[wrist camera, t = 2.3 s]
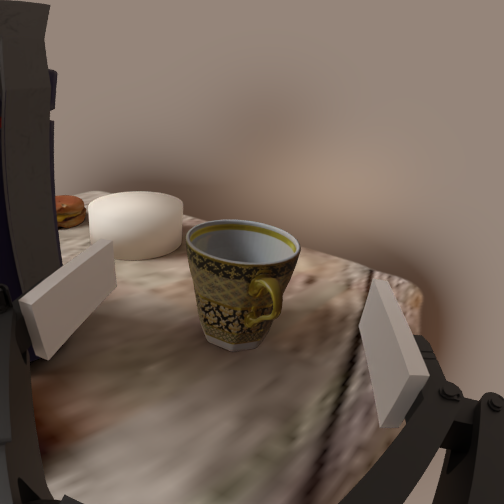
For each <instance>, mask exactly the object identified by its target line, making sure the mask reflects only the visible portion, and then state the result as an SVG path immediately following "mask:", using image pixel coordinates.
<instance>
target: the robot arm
mask: <svg viewBox="0 0 504 504" xmlns="http://www.w3.org/2000/svg"><path fill="white" fill-rule="evenodd" d="M116 287H117V284H116V274H115V263H114V251H113V240H106V239H100V240H98V241H97V242H95V243H94V244H93V245H91V246H90V247H88V248H87V249H85V250H84V251H83V252H81V253H80V254H78V255H77V256H76V257H74V258H73V259H72V260H70V261H69V262H67V263H66V264H65V265H63V266H62V267H61V268H59V269H58V270H57V271H55V272H54V273H53V274H51V275H50V276H48V277H46V278H43V279H41V280H40V281H38V282H37V283H36V284H35V285H34V286H32V287H31V288H29V290H27V291H26V292H24V293H23V294H22V295H20V296H19V297H18V298H17V299H16V300H14V301H13V302H12V300H11V296H10V292H9V289H8V286H7V285H5V284H0V504H83V503H81V502H79V501H77V500H75V499H73V498H70V497H68V496H66V495H64V497H63V498H62V500H61V501H60V500H54V498H53V496H52V495H51V493H50V491H49V489H48V487H47V484H46V480H45V475H44V471H43V466H42V461H41V456H40V451H39V445H38V439H37V433H36V426H35V419H34V410H33V401H32V390H31V376H30V356H29V352H28V350H27V349H28V348H29V347H30V346H31V345H32V346H33V349H34V351H35V354H36V355H37V356H39V357H41V358H44V359H46V360H48V361H49V359H50V358H51V357H52V356H53V355H54V354H55V353H56V351H57V350H58V349H59V348H60V347H61V346H62V345H63V344H64V343H65V341H66V340H67V339H68V338H69V337H70V336H71V335H72V334H73V333H74V332H75V330H76V329H77V328H78V327H79V326H80V325H81V324H82V323H83V322H84V321H85V320H86V319H87V317H88V316H89V315H90V314H91V313H92V312H93V311H94V310H95V309H96V308H97V307H98V306H99V305H100V304H101V303H102V302H103V301H104V300H105V298H106V297H107V296H108V295H109V294H110V293H111V292H112V291H113V290H114V289H115V288H116ZM359 329H360V333H361V337H362V342H363V346H364V350H365V355H366V359H367V364H368V369H369V373H370V378H371V383H372V388H373V393H374V398H375V403H376V409H377V414H378V420H379V425H380V428H399V426H400V425H401V423H402V422H403V420H404V419H405V420H406V425H405V427H404V428H403V429H402V431H401V432H400V433H399V435H398V436H397V437H396V439H395V440H394V441H393V442H392V444H391V445H390V446H389V447H388V449H387V450H386V451H385V452H384V454H383V455H382V456H381V457H380V458H379V460H378V461H377V462H376V463H375V464H374V466H373V467H372V468H371V469H370V470H369V471H368V472H367V474H366V475H365V476H364V477H363V478H362V479H361V480H360V481H359V482H358V484H357V485H356V486H355V487H354V488H353V489H352V490H351V491H350V492H349V493H348V494H347V495H346V496H345V497H344V498H343V499H342V500H341V501H340V502H339V503H338V504H403V503H404V502H405V500H406V498H407V497H408V496H409V494H410V493H411V492H412V490H413V489H414V487H415V486H416V484H417V482H418V481H419V480H420V478H421V477H422V475H423V474H424V472H425V470H426V469H427V467H428V466H429V464H430V462H431V460H432V459H433V457H434V456H435V454H436V452H437V450H438V449H439V448H444V449H446V454H445V458H444V463H443V467H442V471H441V475H440V478H439V482H438V486H437V489H436V493H435V496H434V499H433V503H432V504H504V398H503V397H502V396H500V395H498V394H496V393H492V392H488V393H485V394H484V395H483V396H482V398H481V399H480V400H479V401H476V400H472V399H468V398H464V397H463V394H462V391H461V390H460V389H459V387H457V386H456V385H455V384H453V383H451V382H448V381H446V379H445V376H444V374H443V372H442V370H441V367H440V365H439V363H438V361H437V360H436V356H435V354H434V353H433V350H432V348H431V346H430V343H429V342H428V341H427V340H425V338H424V337H423V336H422V335H413V334H412V332H411V330H410V327H409V325H408V323H407V321H406V319H405V316H404V314H403V312H402V310H401V308H400V306H399V303H398V301H397V299H396V297H395V295H394V293H393V291H392V289H391V287H390V285H389V283H388V281H386V280H379V279H373V280H372V284H371V287H370V291H369V294H368V298H367V301H366V304H365V308H364V311H363V314H362V317H361V320H360V324H359Z"/></svg>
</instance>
